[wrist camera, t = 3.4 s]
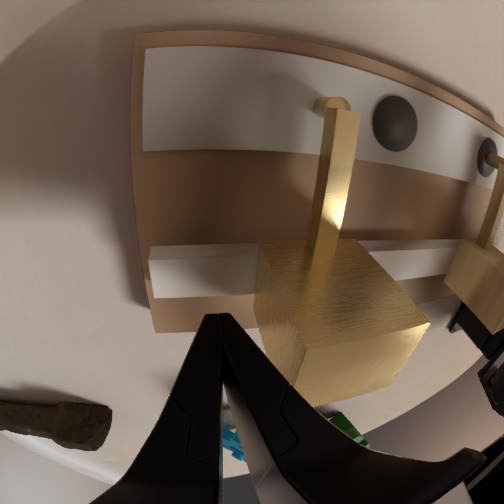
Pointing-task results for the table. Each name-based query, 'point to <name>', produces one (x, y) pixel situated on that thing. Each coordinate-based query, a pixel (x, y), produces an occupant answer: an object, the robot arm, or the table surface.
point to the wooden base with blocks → (302, 172)
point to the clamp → (348, 429)
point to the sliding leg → (332, 289)
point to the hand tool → (59, 423)
